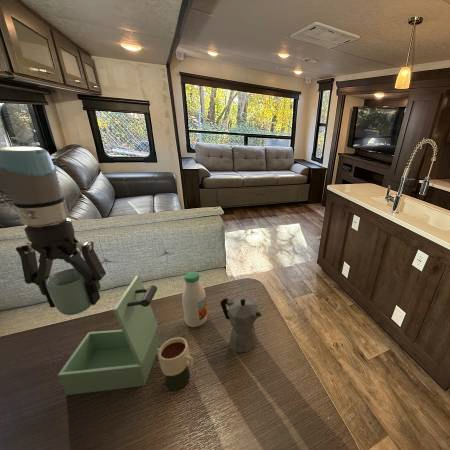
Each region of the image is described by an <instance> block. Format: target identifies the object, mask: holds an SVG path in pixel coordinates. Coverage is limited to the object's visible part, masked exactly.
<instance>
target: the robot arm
mask: <svg viewBox="0 0 450 450" xmlns="http://www.w3.org/2000/svg"><path fill="white" fill-rule="evenodd" d="M0 194H9V196H10V197H11V200H12V202H13V203H12V204H13V205H14V207H15V209H16V212H17V215H18V217H19V221H20V222H21V224H22V225H24V226H22V227H23V230H24V233H25V236H26V237H27V240H28V241H26V242H23V243H22V244H20V245H18V246H17V247H15V251H16V252H17V254H18V255H19V256H20V262H21V267H22V273H23V279H24V283H25V284H27V285H31V284H35V285H36V286H37V287H38V288H39V291H40V293H41V295H42V296H45V298H46V300H47V302H48V305H49V307H50V308H56V307H55V305H54V304H53V302H52V299H51V297H50V295H49V292H48V290H47V287H46V284H45V282H46V280H47V278H48V277H50V276H51V271H52V267H53V263H54V260H63V261H64V262H65V263H66V264H70V265H71V266H72V268H75V269H76V270H77V271H78V272H79V273H80V274H81V275H82V276H83V277H84V278H85V280H86V281H87V282H86V283H85V287H86V290H87V293H88V296H89V299H90V302H91V306H95V305H96V304H97V303H98V301H100V299H101V294H100V290H101V283H100V281H101V280H102V279H104V277H105V276H106V275H107V272H106V270H105V268H104V266H103V264H102V262H101V261H100V259H99V257H98V255H97V253H96V251H95V246H94V242H93V241H92V240H88V241H87V242H83V241H79V240H78V239H77V238H76V236H75V228H74V226H73V223H72V219H71V218H69V217H70V216H71V215H70V212H69V209H68V206H67V203H66V200H65V198H64V193H63V191H62V187H61V184H60V181H59V177H58V175H57V168H56V166H55V164H54V163H53V160H52V157H51V155H50V153H49V152H48V150H47V149H45V148H43V147H39V146H38V147H37V146H5V147H0ZM78 249H79V250H78ZM36 252H37V253H38V254H39V257H38V259H37V253H36ZM38 263H39V264H38Z"/></svg>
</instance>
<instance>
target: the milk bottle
mask: <svg viewBox="0 0 450 450" xmlns="http://www.w3.org/2000/svg"><path fill="white" fill-rule="evenodd" d="M200 279H201V278H200V274H199V272H197V271H190V272H187V273H185V275H184V283H185V286H184V289H183V290H182V295H181V300H182V301H181V302H182V309H183V317H184V323H185V324H186V326H188V327H190V328H198V327H201V326H202V325H204V324H205V323H206V322H207V319H208V307H207V297H206V296H207V295H206V291H205V288H204V287H203V285H202V284H201V282H200Z"/></svg>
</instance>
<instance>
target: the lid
mask: <svg viewBox="0 0 450 450" xmlns="http://www.w3.org/2000/svg"><path fill="white" fill-rule="evenodd" d="M126 288H127V289H126V290H125V291H124V292H123V294H122V295H121V297H120V299H118V302H117V303H116V304H115V306H114V308H113V309H112V311H113V313H114V315H115V318H116V320H117V322H118V325H119V327H120V330H122V331H123V333H124V335H125V338H126V340H127V342H128V344H129V346H130V348H131V351H132V353H133V355H134V357H135V359H136V362H137V364H138V366H139V365H142V363H143V360H144V358H145V355H146V353H147V351H148V348H149V346H150V343H151V341H152V338H153V336H154V334H155V331H156V329H157V330H158V326H159V324H158V322H157V319H156V316H155V314H154V311H153V308H152V306H151V303H152V301H153V300H154V296H155V295H156V293H157V291H158V286H156V285H153V284H151V285H149V286H148V287H147V288H145V287H144V284H143V281H142V278H141V276H140V274H136V275H135V277H134V278H133V279H132V281H131V283H130V284H129V285H128V287H126Z"/></svg>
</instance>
